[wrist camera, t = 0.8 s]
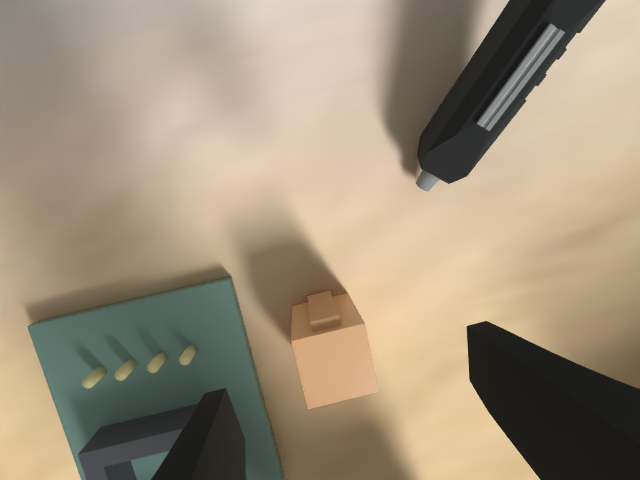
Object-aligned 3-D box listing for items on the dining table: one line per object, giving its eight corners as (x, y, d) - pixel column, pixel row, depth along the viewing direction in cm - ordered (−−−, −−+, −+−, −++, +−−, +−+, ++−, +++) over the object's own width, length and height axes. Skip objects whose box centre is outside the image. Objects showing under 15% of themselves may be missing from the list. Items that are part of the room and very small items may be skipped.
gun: (398, 143, 29) (405, 192, 21) (550, -99, 21) (667, -183, 12) (428, 159, 29) (446, 214, 21) (589, -72, 21) (729, -136, 13)
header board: (291, 505, 26) (291, 552, 23) (118, 550, 26) (90, 605, 22) (231, 276, 24) (220, 290, 20) (38, 320, 23) (-7, 342, 20)
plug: (359, 345, 25) (379, 391, 19) (304, 358, 25) (307, 409, 19) (345, 284, 25) (362, 312, 19) (289, 297, 24) (288, 330, 18)
